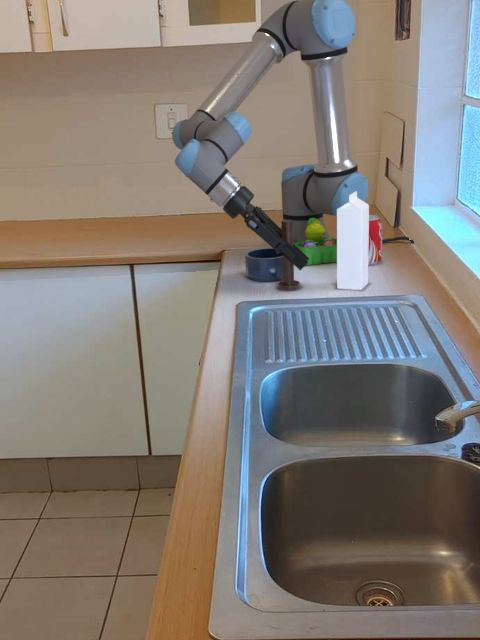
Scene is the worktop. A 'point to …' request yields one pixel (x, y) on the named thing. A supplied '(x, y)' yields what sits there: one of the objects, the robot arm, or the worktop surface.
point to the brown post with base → (288, 266)
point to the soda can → (375, 240)
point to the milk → (352, 244)
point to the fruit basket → (318, 244)
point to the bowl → (264, 264)
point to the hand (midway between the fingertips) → (304, 264)
